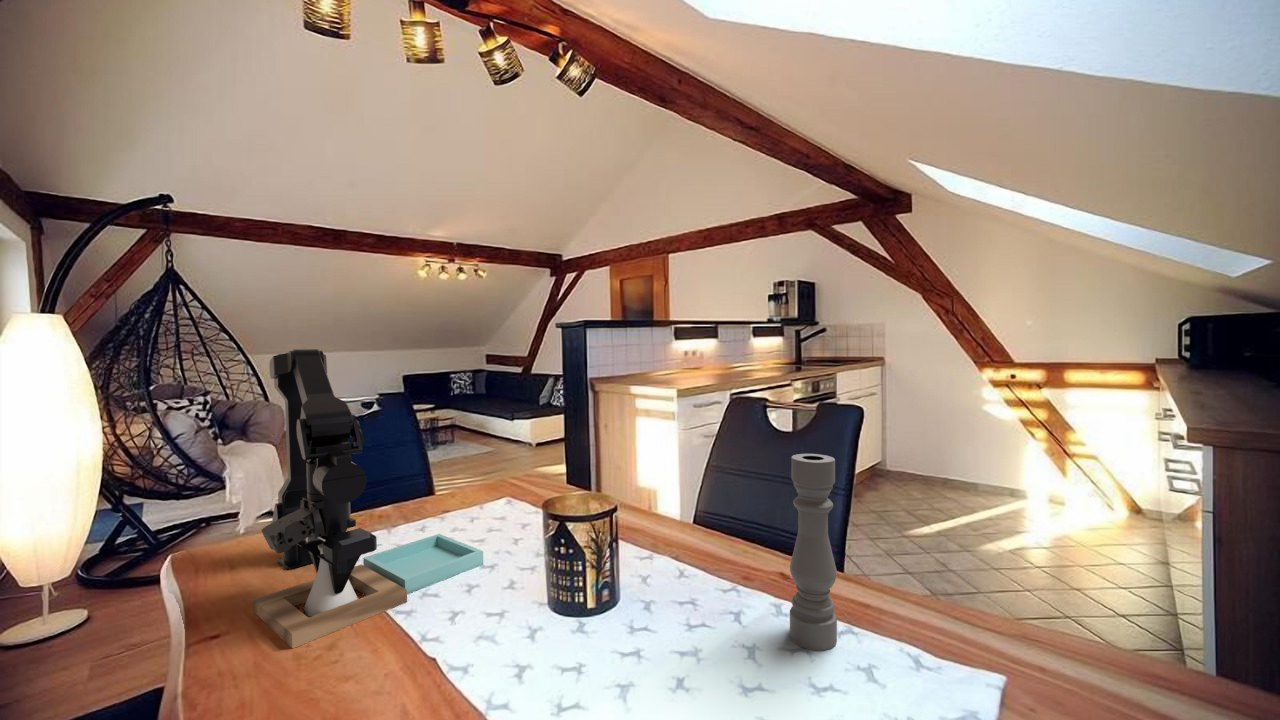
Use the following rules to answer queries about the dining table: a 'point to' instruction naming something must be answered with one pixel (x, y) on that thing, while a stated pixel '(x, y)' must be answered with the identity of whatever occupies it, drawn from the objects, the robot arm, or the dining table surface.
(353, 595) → the flask
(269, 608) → the frame
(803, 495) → the candle holder
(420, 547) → the teal tray
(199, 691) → the dining table surface
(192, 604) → the dining table surface
